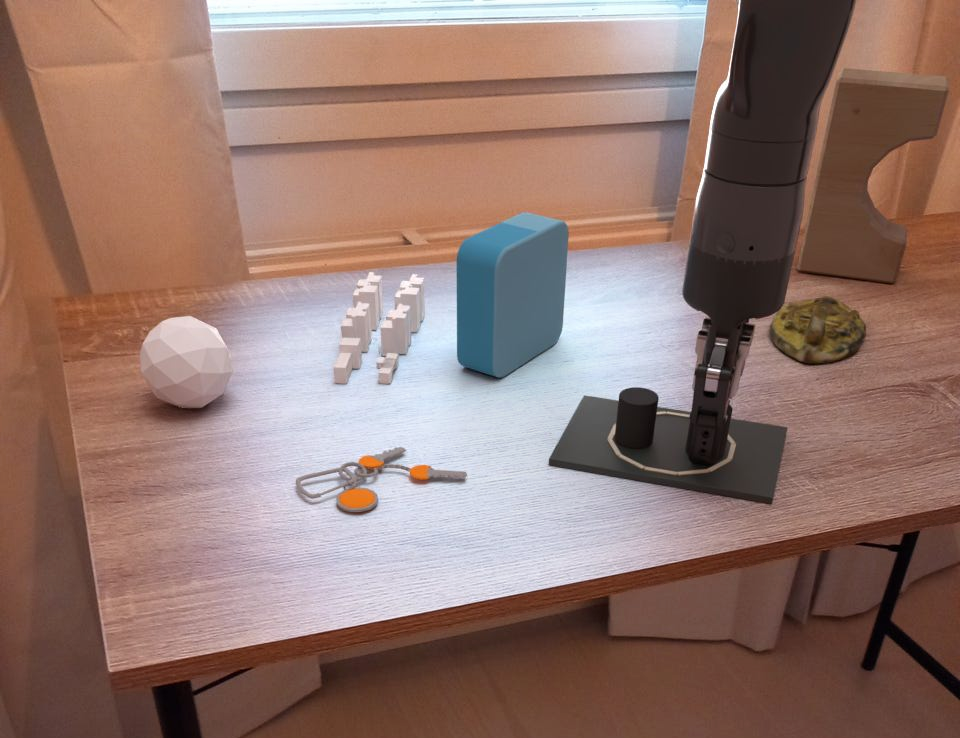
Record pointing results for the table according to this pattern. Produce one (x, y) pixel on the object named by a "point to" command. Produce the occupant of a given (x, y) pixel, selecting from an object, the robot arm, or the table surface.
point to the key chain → (365, 497)
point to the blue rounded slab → (510, 293)
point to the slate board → (673, 453)
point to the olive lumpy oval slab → (818, 330)
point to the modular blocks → (367, 319)
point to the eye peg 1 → (636, 417)
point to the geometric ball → (185, 362)
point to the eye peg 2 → (723, 435)
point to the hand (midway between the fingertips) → (705, 449)
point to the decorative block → (865, 171)
